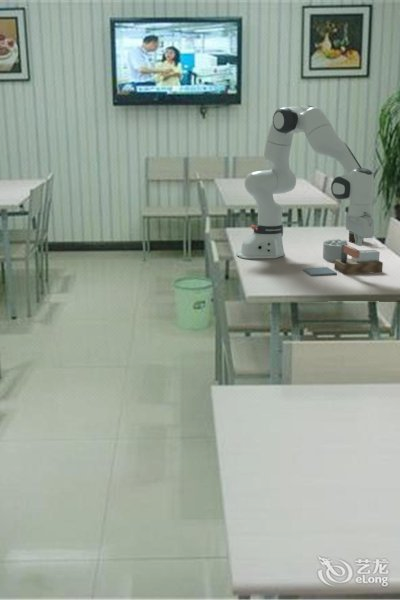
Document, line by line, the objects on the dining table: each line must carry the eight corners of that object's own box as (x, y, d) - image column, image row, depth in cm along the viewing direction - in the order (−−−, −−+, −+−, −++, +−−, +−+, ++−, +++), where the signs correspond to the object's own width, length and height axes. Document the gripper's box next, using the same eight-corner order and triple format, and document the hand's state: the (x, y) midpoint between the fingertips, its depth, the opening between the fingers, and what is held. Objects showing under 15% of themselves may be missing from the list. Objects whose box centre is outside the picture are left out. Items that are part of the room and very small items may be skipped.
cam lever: (339, 260, 288) (340, 243, 286) (345, 260, 288) (346, 243, 286) (353, 268, 274) (354, 250, 272) (359, 268, 274) (360, 250, 272)
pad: (311, 276, 280) (311, 274, 280) (302, 270, 290) (302, 268, 290) (336, 274, 282) (336, 272, 282) (327, 268, 292) (327, 267, 292)
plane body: (343, 274, 283) (343, 264, 282) (334, 268, 292) (334, 259, 291) (382, 272, 286) (382, 262, 285) (372, 266, 295) (372, 257, 294)
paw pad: (343, 255, 318) (344, 237, 316) (349, 261, 306) (350, 242, 303) (321, 256, 318) (322, 237, 316) (326, 262, 306) (327, 242, 303)
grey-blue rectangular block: (356, 262, 285) (356, 253, 284) (351, 260, 290) (352, 250, 289) (379, 261, 287) (379, 251, 286) (374, 258, 292) (374, 249, 291)
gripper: (379, 214, 262) (376, 250, 265) (358, 206, 281) (355, 239, 285) (363, 215, 260) (361, 250, 264) (343, 206, 280) (341, 240, 284)
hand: (358, 245), depth 275 cm, fingers closed
